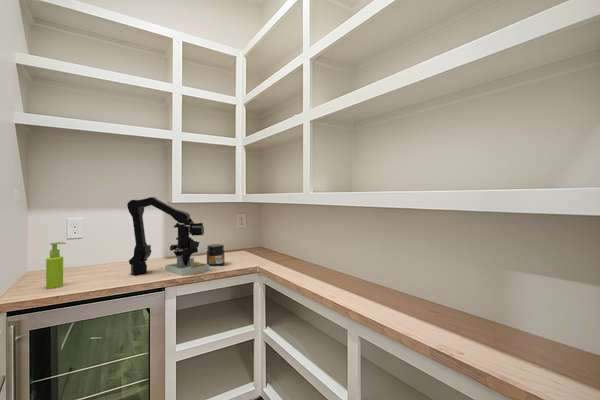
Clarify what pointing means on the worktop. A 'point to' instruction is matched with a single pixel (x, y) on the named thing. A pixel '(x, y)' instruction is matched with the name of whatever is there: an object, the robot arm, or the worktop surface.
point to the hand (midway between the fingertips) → (183, 264)
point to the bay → (187, 269)
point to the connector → (181, 264)
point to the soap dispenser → (54, 267)
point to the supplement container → (215, 255)
